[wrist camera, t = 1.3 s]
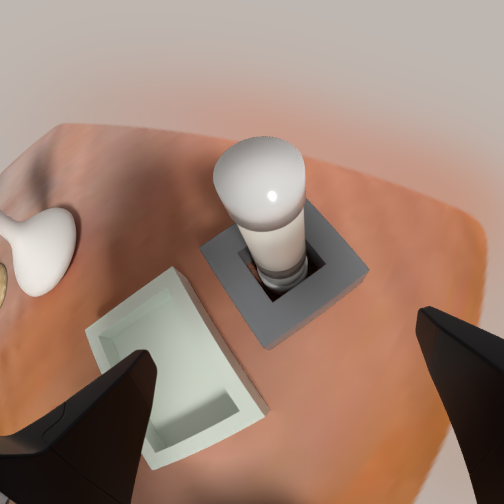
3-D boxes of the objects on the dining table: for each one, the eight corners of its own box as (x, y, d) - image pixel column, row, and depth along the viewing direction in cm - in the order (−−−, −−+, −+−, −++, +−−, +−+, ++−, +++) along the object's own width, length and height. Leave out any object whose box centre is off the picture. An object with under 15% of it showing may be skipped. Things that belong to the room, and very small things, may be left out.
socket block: (362, 281, 22) (369, 269, 19) (269, 350, 21) (263, 347, 18) (295, 204, 25) (293, 184, 23) (210, 261, 25) (198, 247, 22)
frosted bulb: (317, 276, 23) (324, 173, 11) (278, 304, 22) (243, 226, 11) (289, 241, 24) (268, 124, 12) (252, 267, 24) (198, 166, 12)
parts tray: (270, 410, 19) (265, 416, 16) (169, 461, 18) (152, 470, 16) (187, 277, 25) (172, 266, 22) (104, 335, 24) (84, 330, 21)
